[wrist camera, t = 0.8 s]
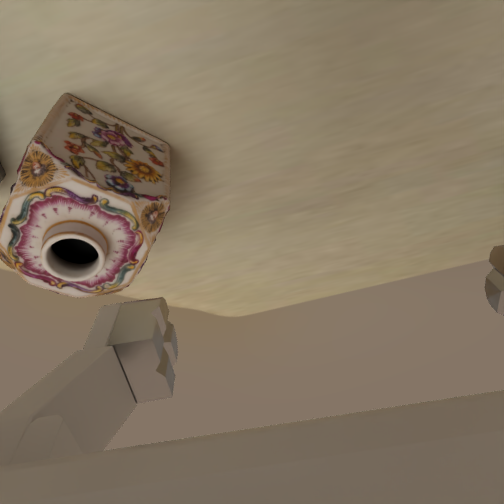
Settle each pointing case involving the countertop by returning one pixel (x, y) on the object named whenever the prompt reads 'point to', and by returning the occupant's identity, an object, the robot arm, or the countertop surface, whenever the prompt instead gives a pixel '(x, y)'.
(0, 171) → the grey bin
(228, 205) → the countertop surface
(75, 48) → the countertop surface
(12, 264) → the decorative jar
